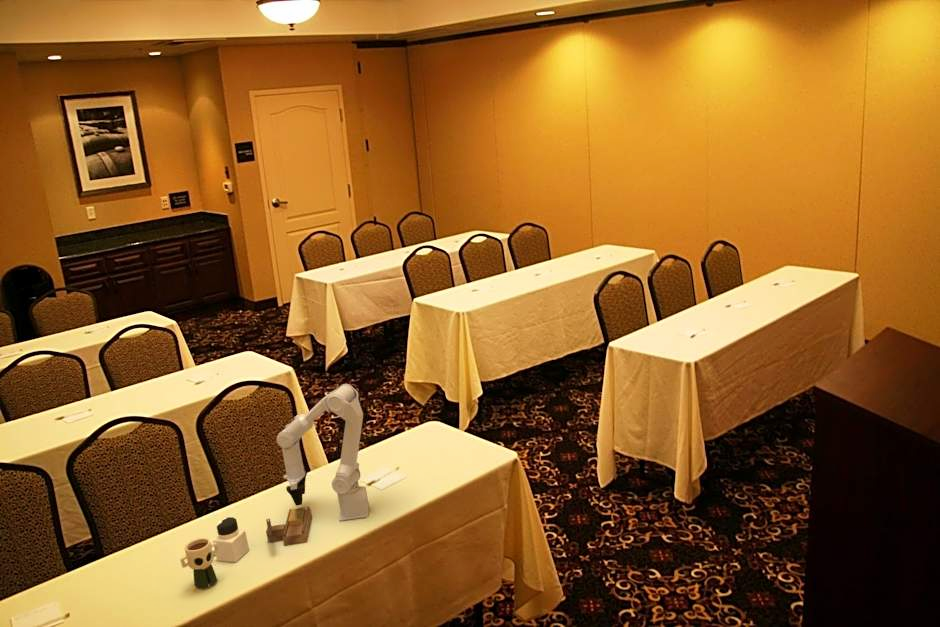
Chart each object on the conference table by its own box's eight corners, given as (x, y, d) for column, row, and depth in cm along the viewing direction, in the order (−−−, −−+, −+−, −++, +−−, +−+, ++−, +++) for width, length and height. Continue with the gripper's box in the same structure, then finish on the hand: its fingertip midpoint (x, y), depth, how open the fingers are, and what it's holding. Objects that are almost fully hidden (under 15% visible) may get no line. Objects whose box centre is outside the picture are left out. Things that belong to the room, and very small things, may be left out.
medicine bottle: (249, 550, 242) (242, 515, 239) (236, 562, 235) (228, 527, 232) (230, 548, 244) (223, 514, 241) (216, 561, 238) (208, 526, 235)
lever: (274, 542, 236) (272, 533, 235) (270, 543, 236) (268, 534, 235) (271, 526, 246) (269, 518, 245) (267, 527, 245) (265, 519, 245)
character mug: (193, 597, 220) (183, 556, 217) (183, 588, 225) (174, 548, 222) (229, 579, 226) (220, 540, 223) (219, 571, 232) (210, 532, 229)
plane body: (312, 517, 257) (309, 506, 256) (306, 542, 242) (304, 530, 241) (274, 523, 257) (271, 512, 256) (266, 548, 241) (264, 537, 240)
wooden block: (305, 512, 255) (304, 507, 254) (303, 524, 247) (302, 519, 246) (292, 514, 254) (291, 509, 254) (289, 526, 247) (288, 521, 246)
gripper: (284, 454, 264) (291, 491, 267) (278, 473, 250) (285, 511, 253) (305, 451, 264) (311, 488, 268) (300, 470, 250) (307, 508, 254)
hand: (300, 499), depth 260 cm, fingers open, 7 cm apart
